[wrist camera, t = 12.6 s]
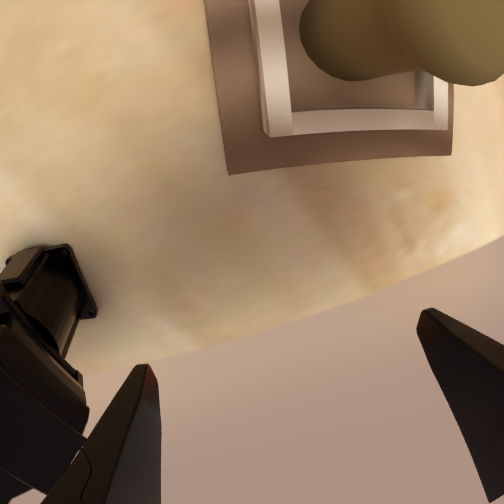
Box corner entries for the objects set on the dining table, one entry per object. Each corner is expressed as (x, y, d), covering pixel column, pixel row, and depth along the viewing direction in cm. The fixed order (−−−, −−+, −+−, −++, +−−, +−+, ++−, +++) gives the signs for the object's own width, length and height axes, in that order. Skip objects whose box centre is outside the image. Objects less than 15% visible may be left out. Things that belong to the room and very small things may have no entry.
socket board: (443, 151, 20) (468, 163, 17) (227, 170, 19) (230, 186, 17) (428, -46, 12) (453, -54, 9) (196, -67, 11) (195, -89, 8)
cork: (318, -27, 12) (429, -102, 3) (403, 20, 14) (545, 12, 5) (283, 56, 15) (385, 31, 6) (374, 97, 17) (515, 138, 7)
